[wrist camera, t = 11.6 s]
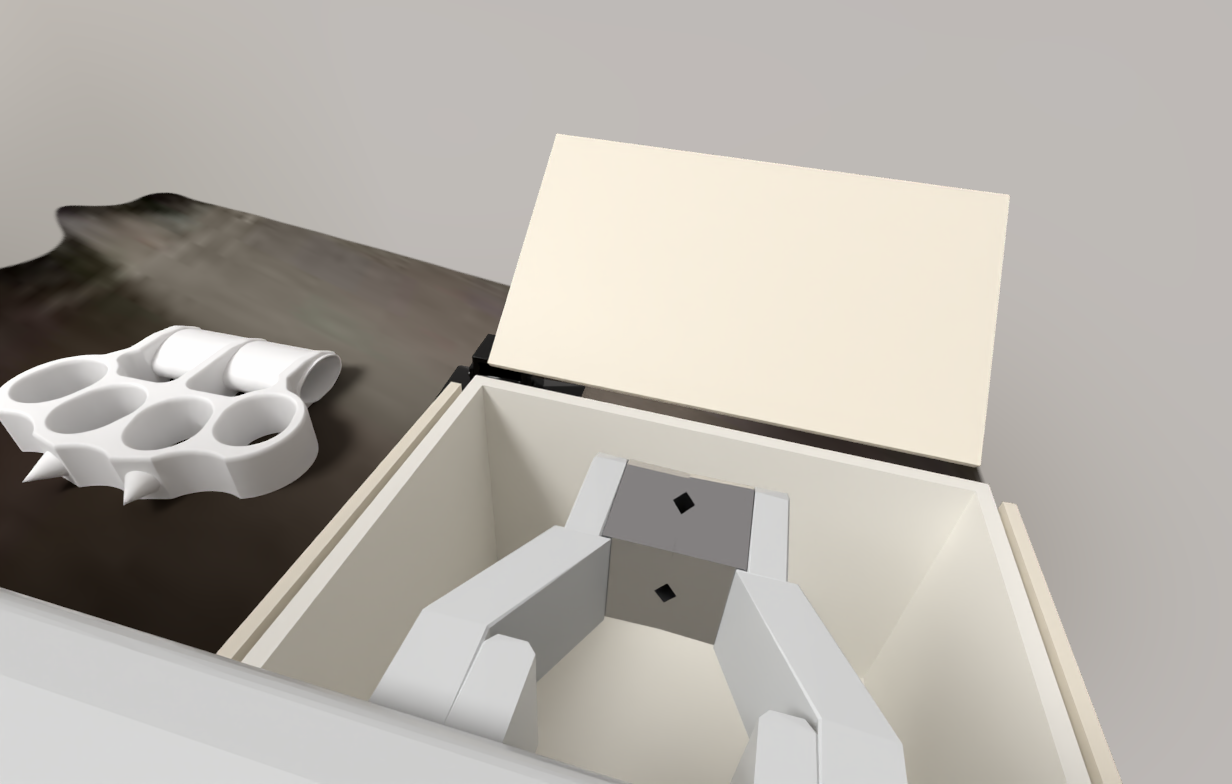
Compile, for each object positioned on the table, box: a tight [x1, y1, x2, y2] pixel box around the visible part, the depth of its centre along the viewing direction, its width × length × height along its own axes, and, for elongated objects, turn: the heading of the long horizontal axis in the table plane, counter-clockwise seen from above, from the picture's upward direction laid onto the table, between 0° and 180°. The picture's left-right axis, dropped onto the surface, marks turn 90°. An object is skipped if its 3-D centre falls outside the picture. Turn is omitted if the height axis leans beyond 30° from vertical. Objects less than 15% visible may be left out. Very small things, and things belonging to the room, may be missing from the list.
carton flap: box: [488, 134, 1010, 467], centre depth 22 cm, size 17×10×1 cm
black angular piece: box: [434, 334, 585, 401], centre depth 40 cm, size 12×7×5 cm, turn 79°
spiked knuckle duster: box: [0, 326, 342, 505], centre depth 36 cm, size 3×18×15 cm
